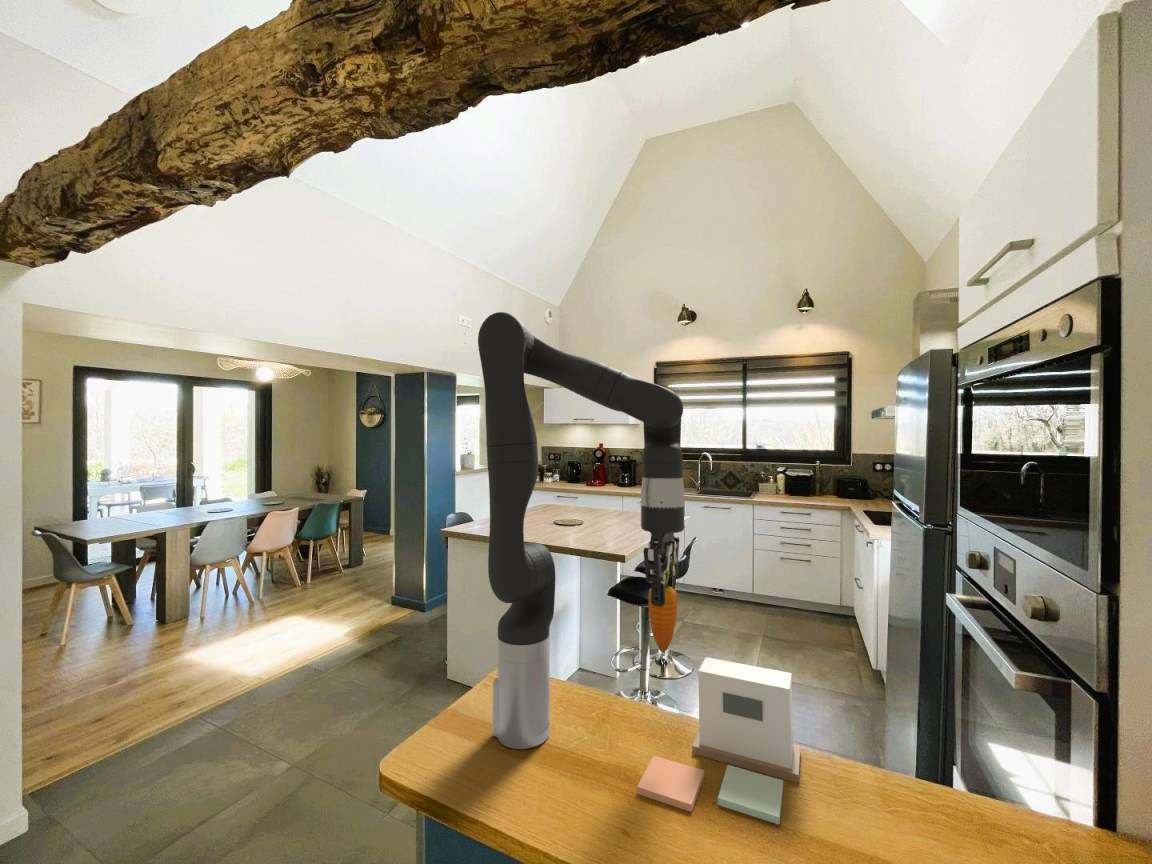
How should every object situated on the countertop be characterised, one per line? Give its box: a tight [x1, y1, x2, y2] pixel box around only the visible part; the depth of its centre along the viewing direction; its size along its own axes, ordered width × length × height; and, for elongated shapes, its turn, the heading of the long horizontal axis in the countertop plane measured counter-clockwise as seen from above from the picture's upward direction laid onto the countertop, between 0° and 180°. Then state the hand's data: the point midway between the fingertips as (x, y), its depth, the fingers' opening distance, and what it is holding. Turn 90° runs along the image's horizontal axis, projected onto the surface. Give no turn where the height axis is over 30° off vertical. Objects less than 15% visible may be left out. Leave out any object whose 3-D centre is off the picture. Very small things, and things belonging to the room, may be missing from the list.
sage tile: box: [717, 764, 784, 826], centre depth 69 cm, size 8×8×1 cm
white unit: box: [691, 656, 801, 784], centre depth 79 cm, size 16×8×13 cm, turn 63°
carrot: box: [648, 570, 678, 654], centre depth 83 cm, size 5×5×15 cm
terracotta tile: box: [636, 755, 705, 813], centre depth 71 cm, size 8×8×1 cm
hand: (662, 600), depth 83 cm, fingers closed on carrot, 4 cm apart
